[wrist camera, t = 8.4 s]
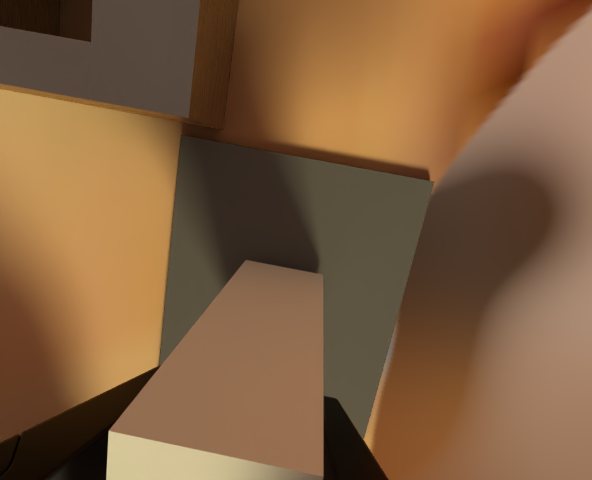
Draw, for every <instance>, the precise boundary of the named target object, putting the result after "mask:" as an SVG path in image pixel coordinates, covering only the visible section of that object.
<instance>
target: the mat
mask: <svg viewBox="0 0 592 480" xmlns="http://www.w3.org/2000/svg"><path fill="white" fill-rule="evenodd" d="M433 184H434V182H433V181H428V180H422V179H417V178H412V177H406V176H401V175H395V174H390V173H385V172H379V171H374V170H368V169H363V168H358V167H352V166H347V165H341V164H336V163H331V162H325V161H320V160H314V159H309V158H303V157H298V156H293V155H287V154H282V153H276V152H271V151H266V150H260V149H255V148H249V147H244V146H239V145H233V144H228V143H222V142H217V141H212V140H206V139H201V138H195V137H190V136H185V135H181V141H180V152H179V162H178V173H177V183H176V194H175V204H174V215H173V226H172V236H171V247H170V257H169V268H168V278H167V289H166V299H165V310H164V320H163V331H162V342H161V352H160V363H159V365H162V364H163V363H164V361H165V360H166V359H167V358H168V356H169V355H170V354H171V353H172V351H173V350H174V349H175V348H176V346H177V345H178V344H179V343H180V341H181V340H182V339H183V338H184V336H185V335H186V334H187V333H188V331H189V330H190V329H191V328H192V326H193V325H194V324H195V323H196V321H197V320H198V319H199V318H200V316H201V315H202V314H203V313H204V311H205V310H206V309H207V308H208V306H209V305H210V304H211V303H212V301H213V300H214V299H215V298H216V296H217V295H218V294H219V293H220V292H221V290H222V289H223V288H224V287H225V285H226V284H227V283H228V282H229V280H230V279H231V278H232V277H233V275H234V274H235V273H236V272H237V270H238V269H239V268H240V267H241V265H242V264H243V263H244V262H245V260H249V261H254V262H259V263H265V264H270V265H275V266H280V267H286V268H291V269H296V270H301V271H307V272H312V273H317V274H322V275H323V396H329V397H333V398H337V399H338V400H339V402H340V404H341V405H342V407H343V408H344V410H345V411H346V413H347V415H348V416H349V418H350V419H351V421H352V423H353V424H354V426H355V427H356V429H357V430H358V432H359V434H360V435H361V437H362V438H364V436H365V433H366V429H367V425H368V422H369V418H370V415H371V411H372V407H373V404H374V400H375V396H376V393H377V389H378V385H379V382H380V378H381V374H382V371H383V367H384V363H385V360H386V356H387V352H388V349H389V345H390V341H391V338H392V334H393V330H394V327H395V323H396V320H397V316H398V312H399V309H400V305H401V301H402V298H403V294H404V290H405V286H406V283H407V279H408V275H409V272H410V268H411V265H412V261H413V257H414V254H415V250H416V246H417V242H418V239H419V235H420V232H421V228H422V225H423V221H424V217H425V214H426V210H427V206H428V203H429V199H430V195H431V192H432V188H433Z"/></svg>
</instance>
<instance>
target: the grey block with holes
mask: <svg viewBox="0 0 592 480" xmlns="http://www.w3.org/2000/svg"><path fill="white" fill-rule="evenodd" d="M238 1H239V0H92V28H91V42H88V41H82V40H77V39H71V38H65V37H59V0H0V89H5V90H10V91H15V92H21V93H26V94H32V95H37V96H43V97H48V98H54V99H59V100H65V101H70V102H75V103H81V104H86V105H92V106H97V107H103V108H108V109H114V110H119V111H124V112H130V113H135V114H141V115H146V116H152V117H157V118H163V119H168V120H174V121H179V122H184V123H190V124H195V125H201V126H206V127H212V128H217V129H223V123H224V115H225V107H226V99H227V91H228V83H229V74H230V66H231V58H232V50H233V42H234V33H235V25H236V17H237V9H238Z"/></svg>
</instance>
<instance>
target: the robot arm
mask: <svg viewBox="0 0 592 480" xmlns="http://www.w3.org/2000/svg"><path fill="white" fill-rule="evenodd" d="M160 366H161V365H159V366H157V367H155V368H153V369H151V370H149V371H147V372H145V373H143V374H141V375H139V376H137V377H135V378H133V379H131V380H129V381H127V382H124V383H122V384H120V385H118V386H116V387H114V388H112V389H110V390H108V391H106V392H104V393H102V394H100V395H98V396H96V397H94V398H92V399H90V400H87V401H85V402H83V403H81V404H79V405H77V406H75V407H73V408H71V409H69V410H67V411H65V412H63V413H61V414H59V415H57V416H55V417H52V418H50V419H48V420H46V421H44V422H42V423H40V424H38V425H36V426H34V427H32V428H30V429H28V430H26V431H24V432H22V434H21V436H20V435H19V434H17V435H15V436H13V437H11V438H9V439H7V440H5V441H3V442H1V443H0V480H106V474H107V454H108V434H109V430H110V429H111V427H112V426H113V425H114V424H115V422H116V421H117V420H118V419H119V417H120V416H121V415H122V414H123V412H124V411H125V410H126V409H127V407H128V406H129V405H130V404H131V402H132V401H133V400H134V399H135V397H136V396H137V395H138V394H139V392H140V391H141V390H142V389H143V387H144V386H145V385H146V384H147V382H148V381H149V380H150V379H151V377H152V376H153V375H154V374H155V372H156V371H157V370H158V369H159V368H160ZM323 480H389V479H388V478H387V476H386V475H385V473H384V471H383V470H382V468H381V467H380V465H379V464H378V462H377V460H376V459H375V457H374V456H373V454H372V452H371V451H370V449H369V448H368V446H367V445H366V443H365V441H364V440H363V438H362V437H361V435H360V434H359V432H358V430H357V429H356V427H355V426H354V424H353V423H352V421H351V419H350V418H349V416H348V415H347V413H346V411H345V410H344V408H343V407H342V405H341V404H340V402H339V400H338V399H337V398H333V397H329V396H323Z"/></svg>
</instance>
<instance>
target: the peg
mask: <svg viewBox="0 0 592 480" xmlns="http://www.w3.org/2000/svg"><path fill="white" fill-rule="evenodd" d="M106 480H323V275H322V274H317V273H312V272H307V271H301V270H296V269H291V268H286V267H280V266H275V265H270V264H265V263H259V262H254V261H249V260H245V262H244V263H243V264H242V265H241V267H240V268H239V269H238V270H237V272H236V273H235V274H234V275H233V277H232V278H231V279H230V280H229V282H228V283H227V284H226V285H225V287H224V288H223V289H222V290H221V292H220V293H219V294H218V295H217V296H216V298H215V299H214V300H213V301H212V303H211V304H210V305H209V306H208V308H207V309H206V310H205V311H204V313H203V314H202V315H201V316H200V318H199V319H198V320H197V321H196V323H195V324H194V325H193V326H192V328H191V329H190V330H189V331H188V333H187V334H186V335H185V336H184V338H183V339H182V340H181V341H180V343H179V344H178V345H177V346H176V348H175V349H174V350H173V351H172V353H171V354H170V355H169V356H168V358H167V359H166V360H165V361H164V363H163V364H162V365H161V366H160V368H159V369H158V370H157V371H156V372H155V374H154V375H153V376H152V377H151V379H150V380H149V381H148V382H147V384H146V385H145V386H144V387H143V389H142V390H141V391H140V392H139V394H138V395H137V396H136V397H135V399H134V400H133V401H132V402H131V404H130V405H129V406H128V407H127V409H126V410H125V411H124V412H123V414H122V415H121V416H120V417H119V419H118V420H117V421H116V422H115V424H114V425H113V426H112V427H111V429H110V430H109V434H108V454H107V474H106Z"/></svg>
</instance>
